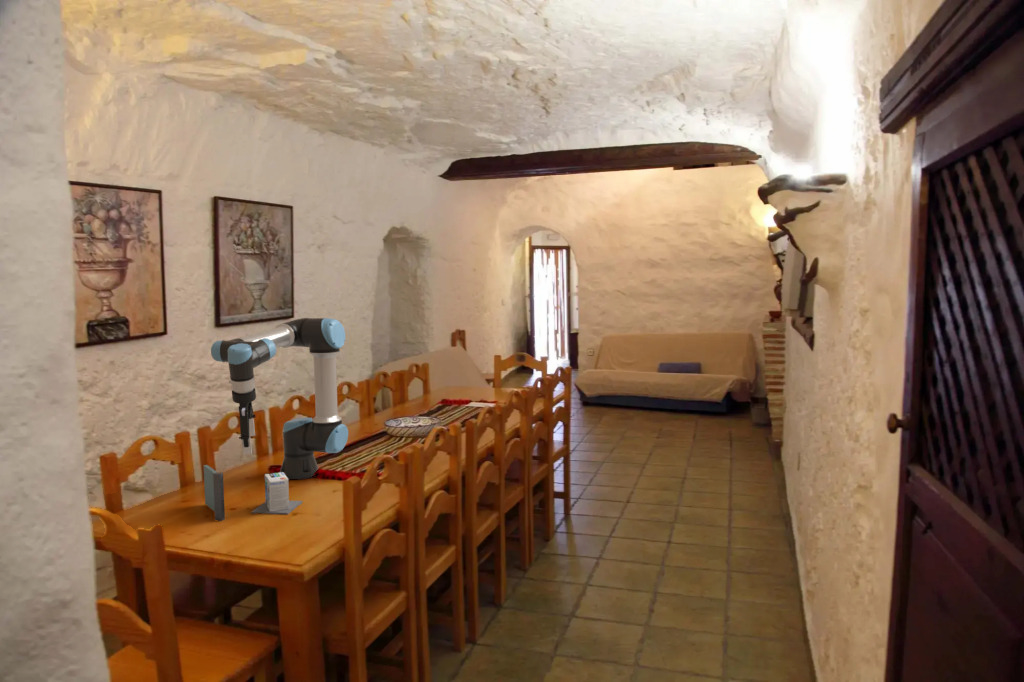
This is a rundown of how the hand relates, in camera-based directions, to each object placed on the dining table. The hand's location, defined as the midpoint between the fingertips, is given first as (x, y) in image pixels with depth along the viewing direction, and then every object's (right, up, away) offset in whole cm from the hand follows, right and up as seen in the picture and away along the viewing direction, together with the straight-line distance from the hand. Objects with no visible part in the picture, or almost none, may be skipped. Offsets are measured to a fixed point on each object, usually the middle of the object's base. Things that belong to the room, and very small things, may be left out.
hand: (249, 444), depth 249 cm
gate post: (-7, -24, -9) cm, 26 cm away
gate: (-12, -23, 0) cm, 26 cm away
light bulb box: (+9, -22, +3) cm, 24 cm away
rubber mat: (+9, -23, +3) cm, 25 cm away
